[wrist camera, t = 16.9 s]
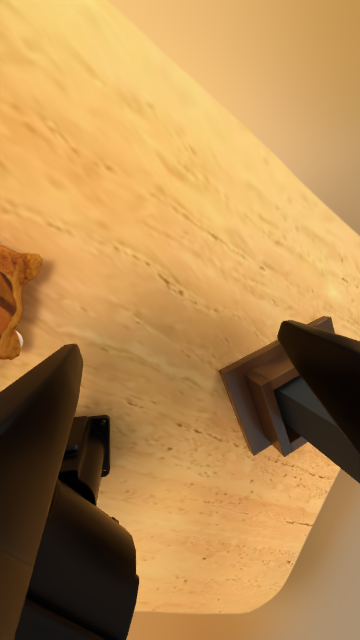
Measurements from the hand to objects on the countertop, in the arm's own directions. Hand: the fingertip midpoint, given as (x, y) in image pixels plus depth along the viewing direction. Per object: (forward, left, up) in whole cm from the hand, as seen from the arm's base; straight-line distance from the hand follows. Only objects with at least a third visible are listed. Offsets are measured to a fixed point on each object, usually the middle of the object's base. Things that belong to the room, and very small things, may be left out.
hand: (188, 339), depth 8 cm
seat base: (-8, -17, -12) cm, 23 cm away
